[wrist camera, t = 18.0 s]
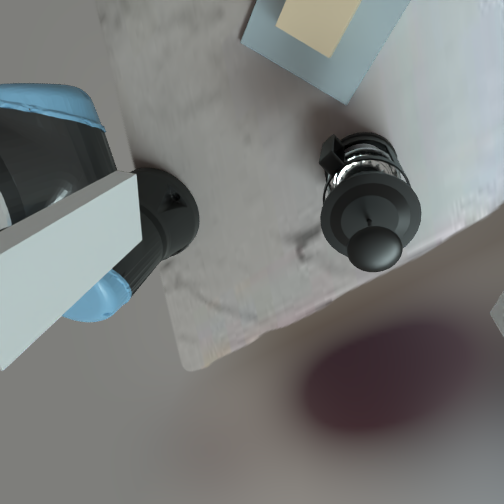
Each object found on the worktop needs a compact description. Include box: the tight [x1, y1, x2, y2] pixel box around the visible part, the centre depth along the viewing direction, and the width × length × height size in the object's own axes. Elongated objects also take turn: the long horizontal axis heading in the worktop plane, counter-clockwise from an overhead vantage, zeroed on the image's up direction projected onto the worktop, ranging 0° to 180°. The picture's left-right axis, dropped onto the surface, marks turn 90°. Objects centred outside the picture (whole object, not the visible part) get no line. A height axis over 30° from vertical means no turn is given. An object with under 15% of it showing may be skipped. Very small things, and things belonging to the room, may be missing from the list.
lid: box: [240, 0, 411, 105], centre depth 35 cm, size 15×13×9 cm
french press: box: [319, 132, 421, 272], centre depth 36 cm, size 12×9×23 cm
